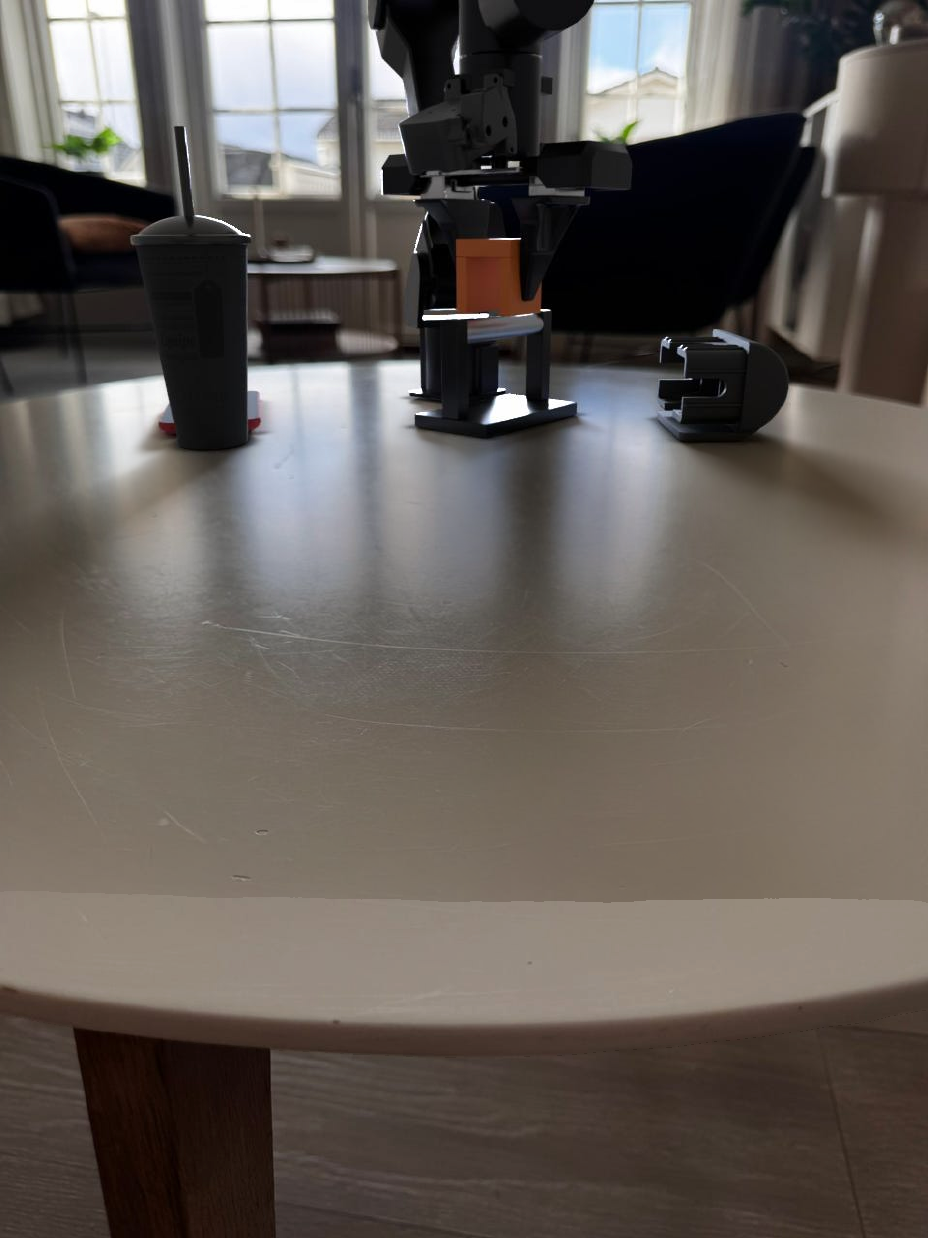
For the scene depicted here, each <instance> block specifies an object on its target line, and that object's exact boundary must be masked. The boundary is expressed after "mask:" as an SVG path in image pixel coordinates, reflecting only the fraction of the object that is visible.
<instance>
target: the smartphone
mask: <svg viewBox="0 0 928 1238" xmlns="http://www.w3.org/2000/svg"><path fill="white" fill-rule="evenodd" d="M261 423H262V413H261V394H260V392H259V391H258V390H248V431H250V430H255V429H257V428H259V426H260V425H261ZM158 427H159V429H160V430H161V431H162V432H164V433H165V434H168V435H176V431H175V426H174V421H173V417H172V412H171V407H170V403H169V402H168V405H167V406H166V408H165V410H164V412H163V413H162V415H161V417H160V420H159V421H158Z"/></svg>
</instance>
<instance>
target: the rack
mask: <svg viewBox="0 0 928 1238" xmlns="http://www.w3.org/2000/svg"><path fill="white" fill-rule="evenodd" d="M552 311H553V310H552V309H541V313H535V314H527V315H518V316H505V317H496V318H487V319H478V320H469V321H468V320H467V319H453V318H450V319H441V378H442V400H441V408H436V409H433V410H427V411H423V412H419V413H415V414H414V427H415V428H420V429H425V430H431V431H438V432H445V433H451V434H456V435H464V436H470V437H475V438H483V439H488V438H492V437H496V436H500V435H504V434H507V433H511V432H515V431H519V430H522V429H526V428H531V427H535V426H538V425H543V424H546V423H550V422H553V421H557V420H562V419H565V418H568V417H573V416H577V415H578V402H576V401H569V400H559V399H552V398H550V381H551V379H550V378H551V349H552V347H551V346H552ZM525 336H526V352H525V353H526V359H525V360H526V361H525V395H519V394H517V395H516V394H511V393H508V394H504V395H499V396H494V397H490V398H485V399H480V400H475V401H471V402H468V344H469V343H476V342H483V341H491V340H495V341H497V340H504V339H505V340H506V339H511V338H519V337H525Z"/></svg>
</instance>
